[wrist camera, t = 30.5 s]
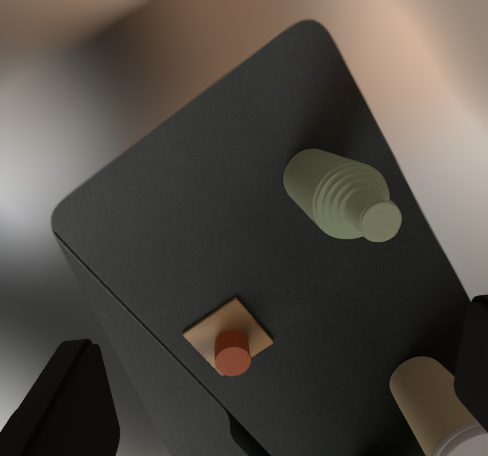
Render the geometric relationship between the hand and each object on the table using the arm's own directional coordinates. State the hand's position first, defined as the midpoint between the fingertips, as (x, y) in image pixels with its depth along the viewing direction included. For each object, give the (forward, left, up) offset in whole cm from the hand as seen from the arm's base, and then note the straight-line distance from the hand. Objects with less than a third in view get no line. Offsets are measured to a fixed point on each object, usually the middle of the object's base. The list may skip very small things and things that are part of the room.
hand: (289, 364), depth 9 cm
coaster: (+16, -12, -28) cm, 35 cm away
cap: (+17, -12, -28) cm, 35 cm away
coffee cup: (+38, +4, -28) cm, 48 cm away
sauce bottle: (+5, +7, -28) cm, 30 cm away
